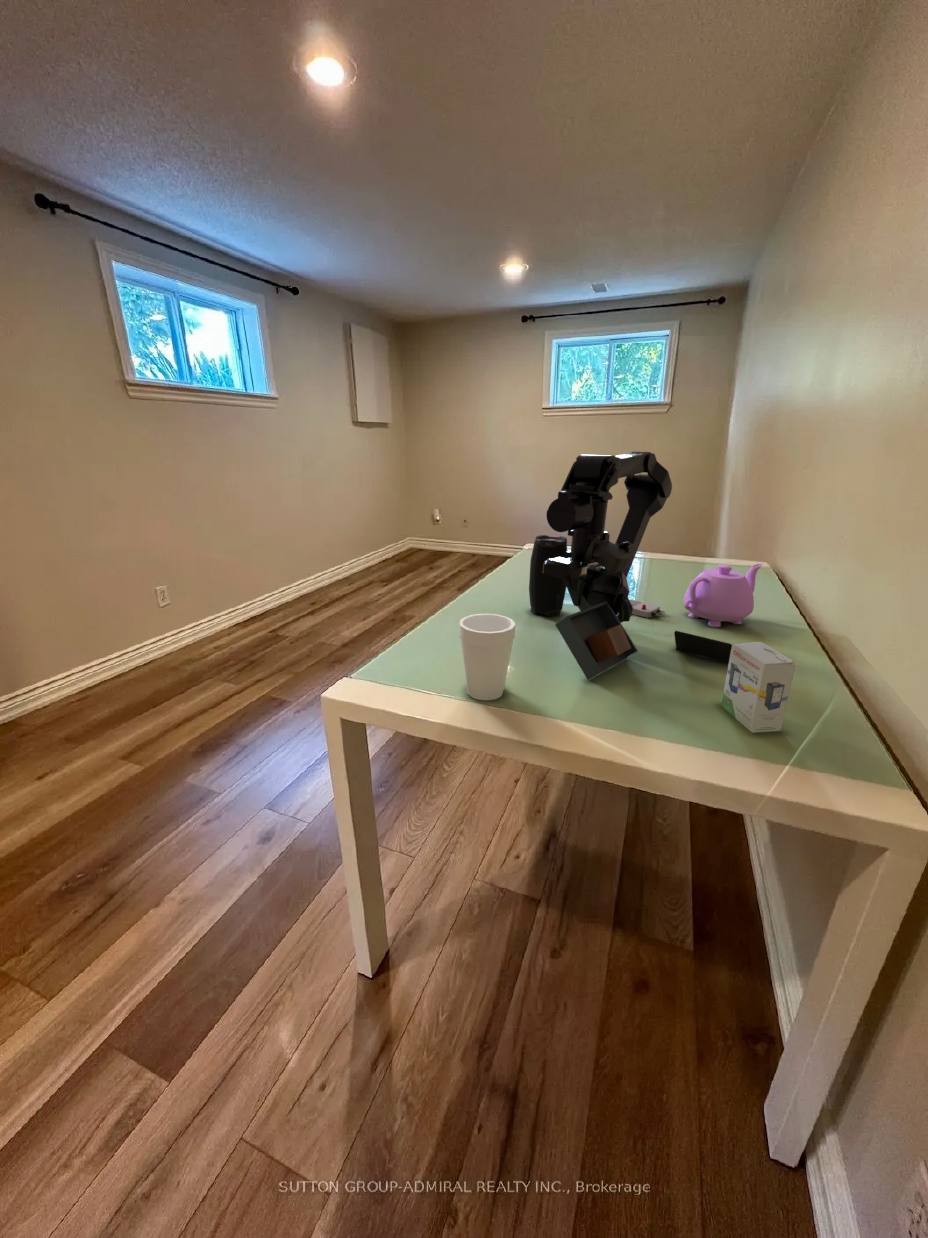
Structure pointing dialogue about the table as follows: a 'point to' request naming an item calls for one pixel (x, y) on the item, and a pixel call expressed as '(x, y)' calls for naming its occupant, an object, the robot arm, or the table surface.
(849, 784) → the table surface
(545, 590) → the portable speaker
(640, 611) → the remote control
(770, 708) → the ink box
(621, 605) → the robot arm
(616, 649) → the block
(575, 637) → the tray
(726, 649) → the handheld gaming console
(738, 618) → the teapot
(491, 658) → the foam cup
